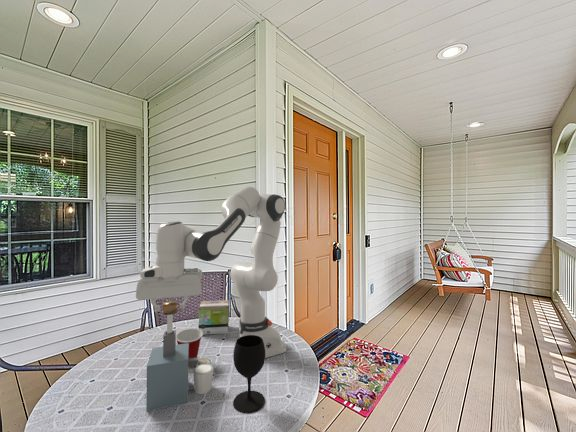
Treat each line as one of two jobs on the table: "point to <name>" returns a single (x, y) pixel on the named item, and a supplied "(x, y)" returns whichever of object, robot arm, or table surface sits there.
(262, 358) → the wine glass
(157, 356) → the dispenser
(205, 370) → the shot glass
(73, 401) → the table surface
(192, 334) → the plastic cup
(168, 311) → the pump plunger
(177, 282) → the robot arm
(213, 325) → the tea box
